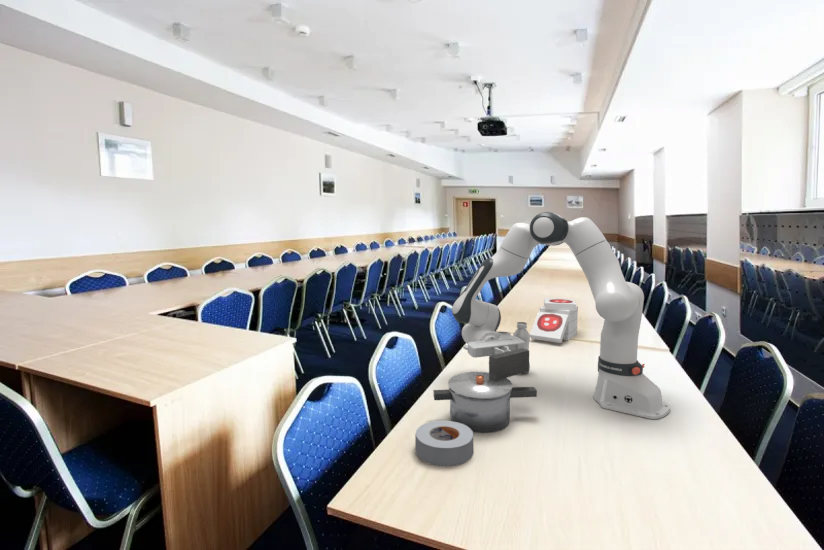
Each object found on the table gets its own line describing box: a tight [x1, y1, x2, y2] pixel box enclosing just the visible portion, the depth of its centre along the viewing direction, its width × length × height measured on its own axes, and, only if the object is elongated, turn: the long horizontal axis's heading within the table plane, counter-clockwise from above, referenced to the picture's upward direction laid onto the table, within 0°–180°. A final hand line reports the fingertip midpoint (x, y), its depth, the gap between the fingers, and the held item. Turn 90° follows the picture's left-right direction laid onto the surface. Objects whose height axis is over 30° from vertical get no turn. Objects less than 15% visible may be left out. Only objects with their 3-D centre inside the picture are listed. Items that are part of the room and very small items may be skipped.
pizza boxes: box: [529, 297, 579, 344], centre depth 219 cm, size 19×30×18 cm, turn 144°
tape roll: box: [414, 419, 474, 467], centre depth 115 cm, size 15×15×5 cm
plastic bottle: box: [512, 321, 531, 374], centre depth 170 cm, size 6×7×20 cm
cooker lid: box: [448, 348, 530, 400], centre depth 134 cm, size 29×19×8 cm, turn 122°
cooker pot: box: [432, 386, 538, 434], centre depth 132 cm, size 31×18×10 cm, turn 92°
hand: (507, 353), depth 143 cm, fingers closed
